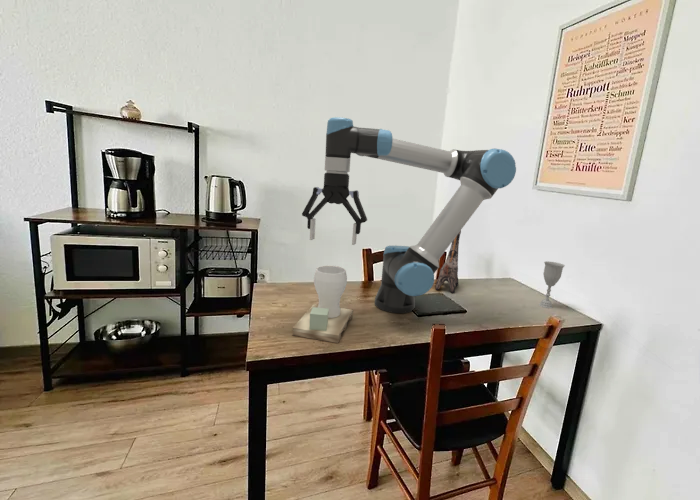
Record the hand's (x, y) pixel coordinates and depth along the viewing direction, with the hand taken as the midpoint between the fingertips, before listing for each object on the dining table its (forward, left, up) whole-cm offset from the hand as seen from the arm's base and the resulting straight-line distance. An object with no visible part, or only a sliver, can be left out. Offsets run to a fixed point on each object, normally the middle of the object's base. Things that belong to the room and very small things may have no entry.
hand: (332, 241), depth 111 cm
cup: (0, 0, -24) cm, 24 cm away
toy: (-41, -54, -27) cm, 73 cm away
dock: (0, +4, -27) cm, 27 cm away
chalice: (-80, -46, -27) cm, 96 cm away
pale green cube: (0, +11, -24) cm, 26 cm away
